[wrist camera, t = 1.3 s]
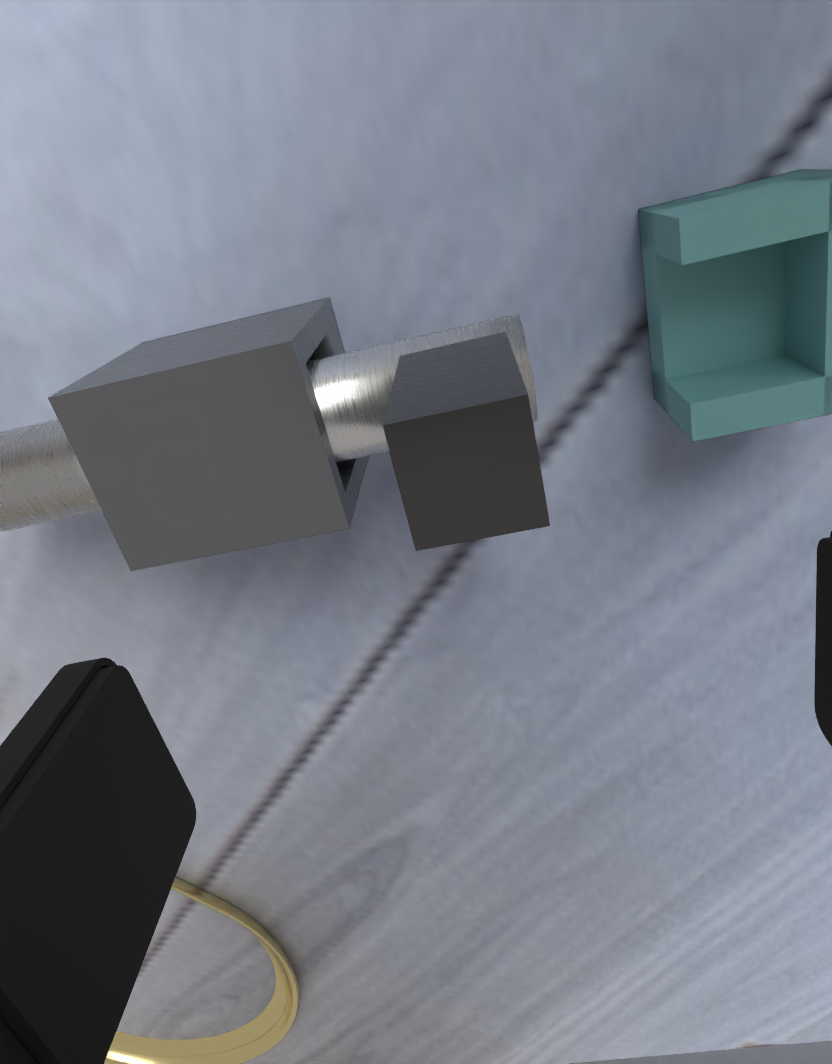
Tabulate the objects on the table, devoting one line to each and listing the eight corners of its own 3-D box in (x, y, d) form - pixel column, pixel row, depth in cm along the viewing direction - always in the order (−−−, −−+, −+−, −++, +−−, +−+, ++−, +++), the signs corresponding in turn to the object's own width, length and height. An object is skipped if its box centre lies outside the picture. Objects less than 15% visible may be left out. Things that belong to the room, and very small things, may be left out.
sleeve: (329, 297, 24) (291, 340, 18) (371, 446, 27) (349, 528, 21) (142, 342, 25) (47, 397, 19) (199, 482, 28) (130, 570, 22)
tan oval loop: (-244, 650, 33) (-275, 672, 32) (364, 951, 42) (361, 979, 41) (-325, 857, 40) (-353, 882, 39) (208, 1077, 49) (201, 1104, 48)
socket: (801, 169, 22) (879, 170, 18) (799, 368, 25) (866, 407, 21) (638, 209, 23) (678, 218, 19) (654, 398, 26) (692, 441, 22)
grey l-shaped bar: (514, 304, 22) (552, 384, 14) (530, 402, 23) (573, 525, 15) (-3, 424, 24) (-221, 550, 16) (39, 506, 26) (-142, 658, 18)
